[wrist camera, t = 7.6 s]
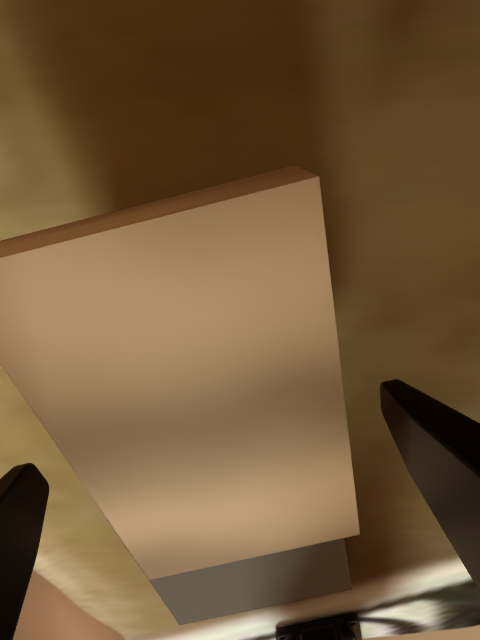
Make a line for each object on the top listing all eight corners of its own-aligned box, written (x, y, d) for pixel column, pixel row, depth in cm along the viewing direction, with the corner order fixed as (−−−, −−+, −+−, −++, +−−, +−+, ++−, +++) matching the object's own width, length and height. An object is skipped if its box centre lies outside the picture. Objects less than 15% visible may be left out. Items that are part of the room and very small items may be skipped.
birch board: (339, 480, 13) (359, 534, 12) (156, 521, 14) (149, 580, 12) (294, 165, 8) (319, 176, 6) (-5, 242, 8) (-63, 273, 6)
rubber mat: (346, 573, 25) (352, 589, 24) (180, 608, 26) (179, 625, 25) (325, 432, 18) (330, 448, 18) (100, 483, 19) (94, 501, 18)
